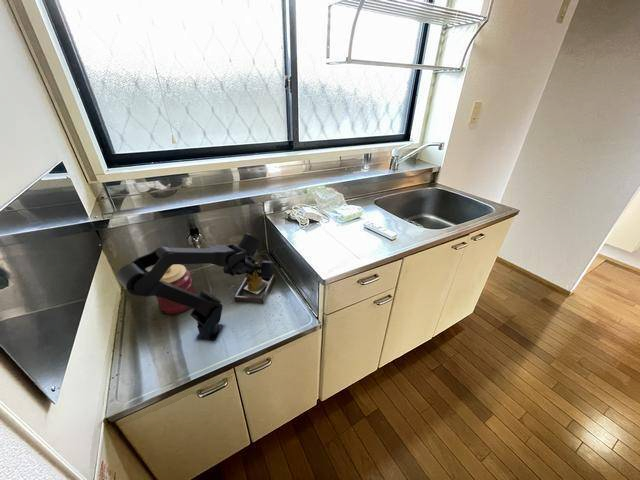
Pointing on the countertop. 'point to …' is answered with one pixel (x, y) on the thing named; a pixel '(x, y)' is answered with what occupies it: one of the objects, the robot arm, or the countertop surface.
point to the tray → (253, 299)
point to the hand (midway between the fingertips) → (255, 270)
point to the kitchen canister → (180, 279)
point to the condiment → (255, 282)
